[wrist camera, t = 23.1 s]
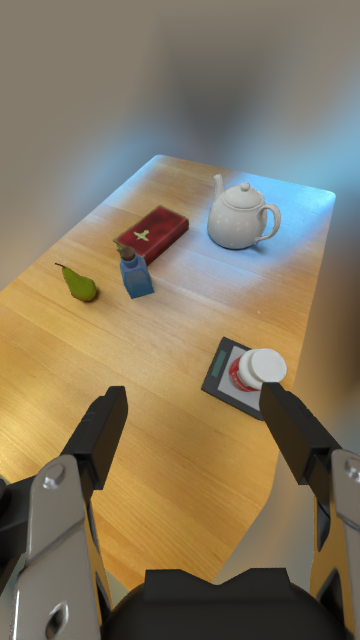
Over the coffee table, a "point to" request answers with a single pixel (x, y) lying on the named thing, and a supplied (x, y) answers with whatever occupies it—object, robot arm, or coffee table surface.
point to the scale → (221, 385)
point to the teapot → (239, 216)
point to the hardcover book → (153, 233)
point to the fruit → (79, 284)
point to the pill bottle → (256, 369)
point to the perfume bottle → (135, 273)
